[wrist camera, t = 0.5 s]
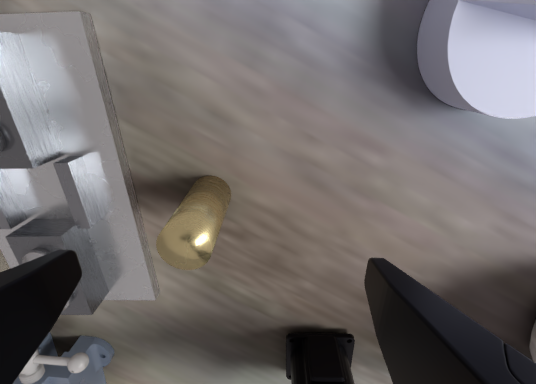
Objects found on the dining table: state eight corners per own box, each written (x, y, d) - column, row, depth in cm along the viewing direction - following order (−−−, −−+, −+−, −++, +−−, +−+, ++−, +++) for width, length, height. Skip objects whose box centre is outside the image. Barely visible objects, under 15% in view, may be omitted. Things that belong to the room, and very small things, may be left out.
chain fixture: (159, 291, 26) (140, 330, 22) (35, 291, 26) (-5, 329, 22) (90, 14, 17) (36, -1, 13) (-99, 21, 17) (-204, 9, 13)
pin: (232, 210, 22) (214, 270, 16) (195, 211, 22) (162, 269, 16) (229, 175, 21) (208, 224, 14) (189, 176, 21) (151, 224, 14)
